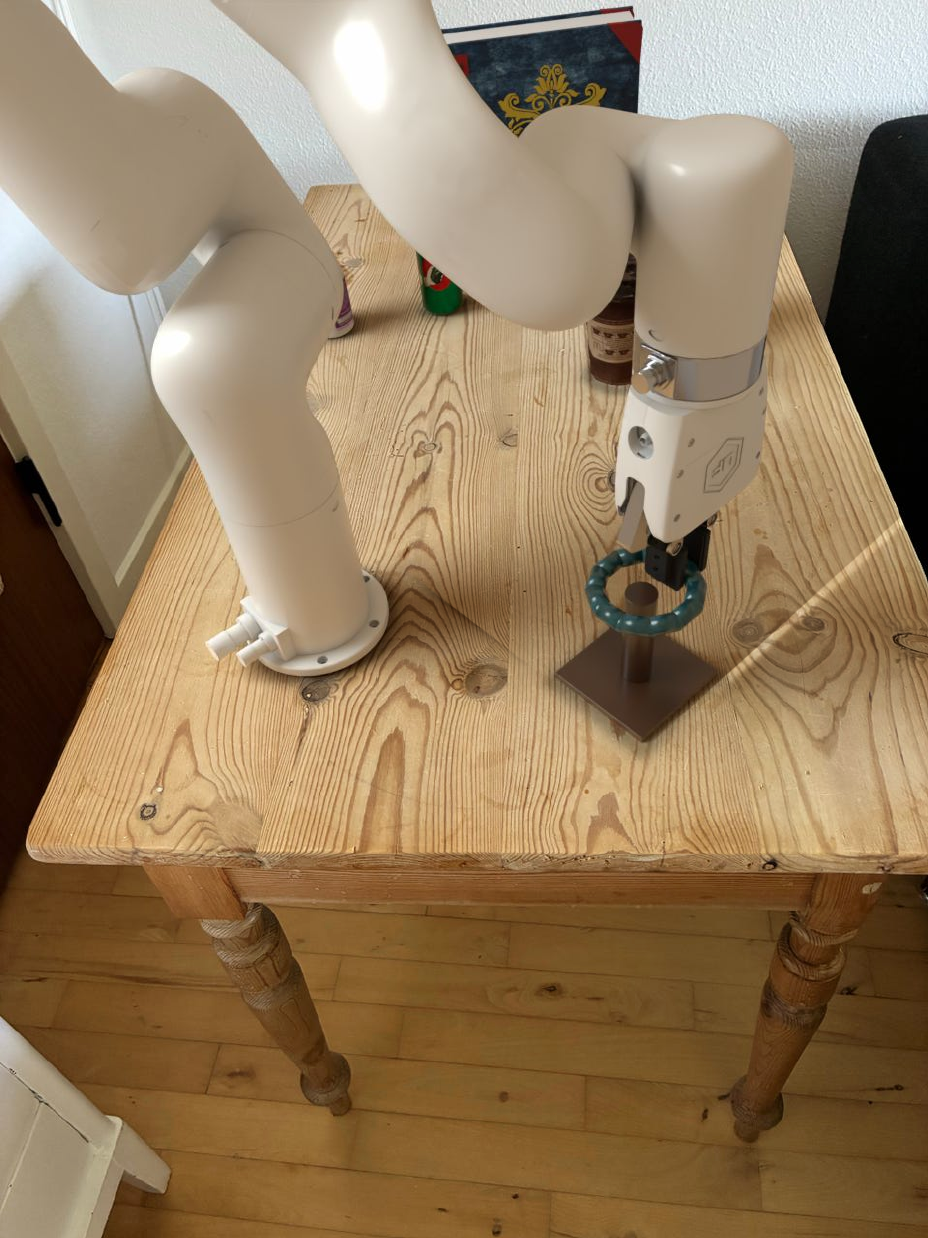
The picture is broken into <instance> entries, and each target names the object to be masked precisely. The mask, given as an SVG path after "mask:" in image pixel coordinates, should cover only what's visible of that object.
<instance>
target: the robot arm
mask: <svg viewBox="0 0 928 1238" xmlns="http://www.w3.org/2000/svg"><path fill="white" fill-rule="evenodd" d="M208 1H209V2H210V3H211V4H212V5H213V6H214V7H215V8H216V9H217V10H219V11H220V12H221V13H222V14H224V16H225V17H227V18H228V19H229V20H230V21H232V22H233V23H234V24H235V25H236V26H237V27H239V28H240V29H241V30H242V31H243V32H244V33H245V34H246V35H248V36H249V37H250V38H251V39H252V40H253V41H254V42H256V43H257V44H258V45H259V46H260V47H261V48H262V49H264V50H265V51H266V52H267V53H268V54H269V55H271V57H272V58H274V59H275V60H276V61H278V62H279V64H281V65H282V66H283V67H284V68H285V69H286V70H287V71H289V73H291V75H293V77H294V78H296V79H297V81H298V82H299V83H300V84H301V86H302V87H303V88H304V90H305V91H306V92H307V95H308V96H309V97H310V100H311V101H312V104H313V106H314V108H315V109H316V112H317V115H319V118H320V120H321V123H322V124H323V126H324V128H325V130H326V132H327V133H328V135H329V137H330V139H331V140H332V143H334V145H335V146H336V149H337V150H338V151H339V153H340V155H341V157H342V158H343V159H344V161H345V163H346V164H347V165H348V167H349V169H350V170H351V172H352V174H353V176H354V177H355V178H356V180H357V181H358V183H359V185H360V186H361V188H362V190H363V191H364V192H365V194H366V195H367V197H368V198H369V199H370V201H371V203H372V204H373V205H374V207H375V208H376V210H377V211H378V212H379V213H380V214H381V216H382V217H383V218H384V219H385V220H386V222H387V223H388V224H389V225H390V227H392V229H393V230H394V231H395V232H396V233H397V234H398V235H399V236H400V237H401V238H402V240H404V241H405V242H406V243H407V244H408V245H409V246H410V247H411V248H412V249H413V250H414V251H415V252H416V251H417V252H418V253H419V254H420V255H421V256H423V257H424V258H425V259H426V260H427V261H428V262H430V263H431V264H432V265H433V266H434V267H436V268H437V269H438V270H439V271H440V272H442V273H443V274H444V275H445V276H446V277H448V278H449V279H450V280H451V281H452V282H454V283H455V284H456V285H457V286H458V287H460V288H461V289H462V290H463V292H465V293H466V294H467V295H468V296H470V297H471V298H472V299H474V300H475V301H476V302H477V303H479V304H480V305H482V306H483V307H485V308H486V309H487V310H488V311H490V312H492V313H493V314H495V315H498V316H499V317H501V318H503V319H505V320H506V321H508V322H510V323H512V324H514V325H517V326H520V327H523V328H525V329H529V330H533V331H539V332H545V333H546V332H548V333H549V332H550V333H551V332H553V333H554V332H563V331H569V330H572V329H573V330H574V329H575V328H578V327H580V326H582V325H584V324H586V323H587V322H589V321H590V320H591V319H593V318H594V317H595V316H597V315H598V314H599V313H600V312H601V311H602V310H603V309H604V308H605V307H606V306H607V305H608V303H609V302H610V301H611V300H612V298H613V297H614V295H615V293H616V291H617V290H618V288H619V286H620V283H621V281H622V278H623V275H624V271H625V268H626V264H627V261H628V256H629V252H630V253H632V254H633V255H634V257H635V258H636V261H637V274H636V296H635V318H634V323H635V324H634V343H633V367H632V377H631V383H632V384H630V386H629V389H628V393H627V397H626V402H625V405H624V411H623V415H622V421H621V427H620V433H619V440H618V446H617V455H616V465H615V466H616V467H615V479H614V502H615V508H616V513H617V515H618V516H619V517H623V519H622V522H621V525H620V527H619V531H618V534H617V537H616V541H615V544H616V546H617V547H620V548H621V549H622V548H623V549H625V550H626V551H628V552H630V553H635V552H638V551H641V550H643V549H646V554H645V564H644V572H645V573H646V574H647V575H648V576H650V577H651V578H652V579H653V580H655V581H657V582H658V583H661V584H663V585H665V586H666V587H667V588H669V589H671V590H672V591H674V592H679V591H680V590H682V588H684V587H685V585H684V578H685V571H686V562H687V558H688V559H690V560H692V561H693V562H695V564H696V565H697V567H698V569H699V571H700V572H701V573H702V572H703V571H705V570H706V569H707V563H708V558H709V550H710V544H711V543H710V542H711V537H712V530H711V529H709V528H712V527H713V525H715V523H716V522H717V521H718V518H719V513H720V510H721V509H722V508H723V507H725V506H726V505H727V504H728V503H730V501H732V500H733V499H735V498H736V497H737V496H738V495H739V494H741V493H742V492H743V491H744V490H745V489H746V488H747V487H748V486H749V485H750V484H751V483H752V482H753V481H754V479H756V477H757V475H758V472H759V469H760V464H761V460H762V454H763V446H764V445H763V444H764V438H765V430H766V429H765V428H766V417H767V408H768V407H767V405H768V370H767V361H766V360H767V359H766V356H765V350H766V343H767V337H768V331H769V326H770V321H771V312H772V307H773V302H774V296H775V290H776V283H777V278H778V273H779V266H780V260H781V254H782V252H781V251H782V246H783V240H784V235H785V229H786V223H787V216H788V210H789V205H790V199H791V191H792V186H793V181H794V172H795V171H794V170H795V154H794V153H795V152H794V148H793V145H792V143H791V141H790V139H789V138H788V136H787V134H786V133H785V132H784V131H783V130H782V128H780V127H778V125H775V124H774V123H772V122H770V121H769V120H765V119H763V118H761V117H756V116H751V115H745V114H737V113H711V114H703V115H697V116H692V117H688V118H683V119H678V118H677V119H676V118H675V119H674V118H668V117H661V116H660V117H659V116H654V115H648V114H642V113H638V114H636V113H631V112H625V111H620V110H615V109H609V108H604V107H597V106H588V105H571V106H563V107H559V108H555V109H552V110H550V111H547V112H545V113H543V114H541V115H540V116H538V117H537V118H536V119H535V120H533V121H532V122H531V123H530V124H529V125H528V126H527V127H526V128H525V129H524V131H523V132H522V133H521V135H520V136H519V138H517V137H516V136H515V135H514V134H513V133H512V132H511V131H510V130H509V129H508V128H507V127H506V126H505V125H504V124H503V123H502V121H501V120H500V119H499V118H498V117H497V116H496V115H495V114H494V113H493V112H492V110H491V109H490V108H489V107H488V106H487V104H486V103H485V102H484V101H483V100H482V99H481V97H480V96H479V94H478V93H477V92H476V90H475V89H474V88H473V86H472V85H471V84H470V82H469V81H468V79H467V78H466V76H465V75H464V73H463V72H462V70H461V68H460V67H459V65H458V64H457V62H456V60H455V59H454V57H453V55H452V53H451V51H450V49H449V47H448V45H447V43H446V41H445V39H444V36H443V34H442V31H441V29H442V28H441V27H440V24H439V21H438V19H437V15H436V12H435V10H434V6H433V3H432V0H208ZM0 188H1V190H2V191H3V192H4V193H5V194H6V195H7V196H8V197H9V198H10V200H11V201H12V202H13V203H14V204H15V205H16V206H17V208H18V209H19V210H20V211H21V212H22V213H23V214H24V215H25V216H26V218H27V219H28V220H29V221H30V222H31V223H32V224H33V225H34V227H35V228H36V229H37V230H38V231H39V232H40V233H41V235H42V236H43V237H44V238H45V239H46V240H47V242H49V244H51V245H52V247H53V248H54V249H55V250H56V251H57V252H58V253H59V254H60V255H61V257H63V259H64V260H66V261H67V262H68V264H70V265H71V267H72V268H73V269H75V270H76V271H77V272H78V273H79V274H80V275H82V277H84V278H85V279H86V280H87V281H89V282H90V283H92V285H95V287H97V288H99V289H101V290H103V291H105V292H108V293H110V294H113V295H116V296H117V295H118V296H126V297H127V296H138V295H141V294H145V293H147V292H149V291H150V290H152V289H155V288H156V287H158V286H159V285H162V283H164V282H165V281H166V280H167V279H168V278H169V277H170V276H171V275H173V274H174V273H175V272H176V270H178V268H180V266H181V265H182V264H183V263H184V262H185V261H186V260H187V258H188V257H189V256H190V255H191V254H192V255H193V256H194V257H195V258H196V260H197V262H199V263H200V265H201V266H202V267H201V269H200V270H198V271H197V272H196V274H195V275H194V276H193V277H192V279H190V281H189V282H188V284H187V285H186V286H185V288H184V289H183V291H182V292H181V293H180V295H179V296H178V297H177V298H176V299H175V301H174V302H173V304H172V305H171V307H170V308H169V310H168V311H167V313H166V314H165V316H164V318H163V319H162V321H161V323H160V325H159V327H158V329H157V331H156V334H155V337H154V341H153V344H152V348H151V354H150V374H151V375H150V376H151V380H152V384H153V387H154V389H155V393H156V395H157V397H158V398H159V401H160V403H161V404H162V406H163V407H164V409H165V410H166V412H167V414H168V415H169V417H170V419H171V420H172V421H173V423H174V424H175V426H176V427H177V429H178V430H179V432H180V433H181V435H182V436H183V438H184V440H185V442H186V443H187V445H188V447H189V449H190V450H191V452H192V454H193V456H194V458H195V460H196V462H197V464H198V467H199V470H200V472H201V474H202V476H203V479H204V481H205V484H206V486H207V489H208V492H209V494H210V497H211V499H212V502H213V504H214V507H215V508H216V510H217V513H218V516H219V519H220V521H221V524H222V527H223V529H224V531H225V534H226V537H227V540H228V542H229V544H230V547H231V551H232V552H233V555H234V558H235V561H236V563H237V566H238V568H239V571H240V573H241V576H242V579H243V582H244V585H245V588H246V590H247V593H248V595H247V596H246V597H244V598H242V599H240V600H239V603H240V606H241V608H242V611H243V613H242V614H240V615H239V616H238V617H236V618H235V624H233V625H232V626H230V627H229V628H227V629H226V630H222V631H220V632H219V633H217V634H216V635H214V636H213V637H211V638H209V639H208V640H207V641H205V646H206V649H207V650H208V651H209V653H210V654H211V656H212V657H213V658H214V659H215V660H216V662H220V661H222V660H223V659H224V658H226V657H228V656H229V655H231V654H232V653H233V652H235V651H236V650H237V649H238V648H239V647H241V646H242V645H243V644H245V643H247V645H246V646H245V647H243V648H242V649H240V650H239V651H237V652H235V656H236V658H237V659H238V661H239V663H240V664H241V665H242V666H243V667H245V668H247V667H248V666H249V665H250V664H252V663H253V662H255V661H257V660H258V661H259V662H260V663H261V664H262V665H263V666H265V667H266V668H269V669H271V670H273V671H274V672H277V673H281V674H284V675H288V676H294V677H295V676H296V677H316V676H321V675H328V674H331V673H333V672H337V671H339V670H344V669H345V668H347V667H349V666H351V665H353V664H355V663H356V662H358V661H360V660H361V659H362V658H364V657H365V656H367V655H368V654H369V653H370V652H371V651H372V650H373V649H374V648H375V647H376V646H377V644H378V643H379V642H380V640H381V639H382V637H383V636H384V634H385V631H386V629H387V627H388V624H389V619H390V606H389V602H388V597H387V593H386V591H385V589H384V587H383V585H382V584H381V582H379V580H378V579H377V578H376V576H374V575H372V574H371V573H370V572H368V571H366V570H365V569H362V565H361V561H360V557H359V551H358V548H357V544H356V540H355V536H354V531H353V527H352V523H351V520H350V514H349V510H348V507H347V502H346V498H345V494H344V490H343V486H342V482H341V478H340V477H341V476H340V472H339V468H338V467H337V463H336V462H337V461H336V459H335V454H334V450H333V447H332V444H331V442H330V438H329V436H328V433H327V432H326V430H325V428H324V426H323V425H322V423H321V422H320V421H319V419H318V418H317V417H316V416H315V415H314V413H313V412H312V411H311V409H310V406H309V402H308V399H307V386H308V383H309V382H308V381H309V378H310V376H311V373H312V370H313V368H314V367H315V366H316V363H317V361H318V360H319V356H320V355H321V353H322V351H323V349H324V346H325V345H326V343H327V341H328V339H329V338H328V337H329V335H330V334H331V332H332V329H333V327H334V325H335V323H336V321H337V319H338V316H339V314H340V311H341V308H342V303H343V296H344V286H343V279H342V274H341V271H340V268H339V266H340V264H339V263H338V260H337V258H336V255H335V253H334V254H333V252H334V251H333V252H332V250H331V248H332V247H331V246H330V244H329V243H328V241H327V239H326V238H325V236H324V235H323V233H322V232H321V230H320V229H319V227H318V226H317V224H316V223H315V221H314V220H313V219H312V217H311V216H310V214H309V213H308V212H307V210H306V208H305V207H304V206H303V205H302V203H301V201H300V199H299V198H298V197H297V196H296V194H295V193H294V191H293V190H292V189H291V187H290V185H289V184H288V182H287V181H286V180H285V179H284V177H283V176H282V174H281V173H280V172H279V170H278V168H277V167H276V166H275V164H274V162H273V161H272V160H271V158H270V157H269V155H268V154H267V152H266V151H265V150H264V149H263V147H262V145H261V144H260V143H259V141H258V139H256V137H255V135H254V134H253V132H251V130H250V129H249V127H248V126H247V125H246V123H245V122H244V120H243V119H242V117H240V116H239V114H238V113H237V112H236V110H234V108H233V107H232V106H231V105H230V104H229V103H228V102H227V101H226V100H225V99H224V98H223V97H222V96H220V95H219V94H218V93H217V92H216V91H215V90H213V89H212V88H211V87H209V86H208V85H207V84H205V83H204V82H202V81H200V80H199V79H197V78H195V77H194V76H191V75H189V74H187V73H185V72H183V71H180V70H177V69H173V68H168V67H160V66H159V67H158V66H154V67H153V66H152V67H150V66H149V67H144V68H139V69H136V70H134V71H131V72H128V73H127V74H124V75H122V76H121V77H119V78H118V79H116V81H114V82H113V83H111V82H110V81H109V80H108V79H107V78H106V77H105V76H104V75H103V73H102V72H101V71H100V69H98V67H97V66H96V65H95V64H94V63H93V62H92V60H91V59H90V58H89V57H88V55H87V54H86V53H85V51H84V50H83V49H82V47H81V46H80V44H79V43H78V42H77V40H76V38H75V37H74V36H73V34H72V33H71V32H70V31H69V29H68V27H67V26H66V25H65V24H64V23H63V22H62V19H60V18H59V17H58V16H57V15H56V14H55V13H54V12H53V10H52V9H51V8H49V6H48V5H46V3H45V2H44V1H42V0H0ZM330 247H331V248H330Z"/></svg>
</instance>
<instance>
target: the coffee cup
mask: <svg viewBox="0 0 928 1238" xmlns="http://www.w3.org/2000/svg"><path fill="white" fill-rule="evenodd" d="M636 274H637V261H636V258H635V257H634V255H633V254H632V253H630V252H629V256H628V261H627V264H626V268H625V271H624V275H623V278H622V281H621V283H620V286H619V288H618V290H617V291H616V293H615V295H614V297H613V298H612V300H611V301H610V302H609V303H608V305H607V306H606V307H605V308H604V309H603V310H602V311H601V312H600V313H599V314H598V315H597V316H595V317H594V318H593V319H591V320H590V321H589V322H587V323H585V328H586V342H587V353H588V359H589V372H590V374H591V375H592V376H593V378H594V379H595V380H596V381H598V382H600V383H602V384H606V385H610V386H615V387H616V386H618V387H620V386H627V385H632V383H631V377H632V367H633V343H634V324H635V323H634V318H635V296H636Z"/></svg>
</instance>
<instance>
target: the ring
mask: <svg viewBox="0 0 928 1238" xmlns="http://www.w3.org/2000/svg"><path fill="white" fill-rule="evenodd" d="M645 554H646V549H643V550H641V551H638V552H635V553H630V552H628V551H626V550H625V549H623V548H622V547H621V548H618V549H613V550H612V551H610V552H609V553H608V554H607V555H606V556H604V557H603V558H602V559H600V560H599V561H598V562H596V563H595V564H594V565H592V567H591V568H590V572H589V574H588V577H587V581H586V583H585V587H584V595H585V598H586V601H587V603H588V604H589V607H590V609H591V612H592V614H593V615H594V617H595V618H596V619H598V620H599V621H601V622H602V623H604V624H605V625H607V626H608V627H610V628H613V629H614V630H616V631H617V632H619V633H624V634H630V635H636V636H642V637H648V638H651V637H656V636H660V635H668V634H672V633H677V632H680V631H682V630H684V628H686V627H687V626H688V625H689V624H690V623H692V622H693V621H694V620H695V619H696V618H697V617H699V615H701V614H702V612H703V611H704V607H705V602H706V597H707V592H708V583H707V582H706V580H705V578H704V576H703V574H702V572H700V571H699V569H698V567H697V565H696V564H695V562H693V561H692V560H690V559H688V558H687V562H686V571H685V578H684V588H685V589H686V590H685V595H684V598H683V601H682V602H681V603H679V604H678V605H677V606H676V607H675V608H673V610H671V611H669V612H666V613H661V614H657V615H656V616H652V617H645V616H639V615H633V614H627V613H625V612H624V610H622V609H620V608H619V607H617V606H616V605H615V604H613V603H611V601H610V599H609V596H608V594H607V592H606V587H607V584H608V581H609V579H610V578H611V577H612V576H613V575H615V574H616V573H617V572H619V571H620V570H621V569H623V568H628V567H632V566H637V565H640V564H644V565H645Z"/></svg>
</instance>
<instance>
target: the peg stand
mask: <svg viewBox="0 0 928 1238" xmlns="http://www.w3.org/2000/svg"><path fill="white" fill-rule="evenodd" d="M659 595H660V594H659V589H658V588H657V587H656V586H655V585H654V584H652V583H650V582H648V581H635V582H632V583H630V584H629V585H628V586H626V588H625V590H624V598H623V612H625V613H627V614H633V615H639V616H645V617H652V616H656V615H658V606H659V598H660V597H659ZM718 671H719V670H718V669H717V668H716V667H713V666H712V665H711V664H709V663H708V662H706V661H705V660H703V659H702V658H700V657H699V656H697V655H696V654H694V653H693V652H691V651H690V650H688V649H687V648H685V647H683V646H682V645H681V644H680V643H678V642H676V641H675V640H673V639H672V638H670V637H669V636H667V634H664V635H660V636H656V637H651V638H648V637H642V636H636V635H630V634H624V633H619V632H617V631H616V630H614V629H613V628H611V627H610V628H608V629H607V630H606V631H604V632H603V633H602V634H600V635H599V636H598V637H597V638H596V639H595V640H594V641H592V642H591V643H590V644H589V645H587V646H586V647H585V648H584V649H582V650H581V651H580V652H579V653H578V654H576V655H575V656H574V657H572V658H571V659H570V660H569V661H568V662H566V663H565V664H564V665H563V666H562V667H560V668H559V669H558V670H557V671H555V672H554V678H555V679H556V680H558V681H559V682H560V683H562V684H563V685H564V686H565V687H566V688H568V689H569V690H571V691H572V692H574V693H575V694H576V695H578V697H580V698H582V699H583V700H584V701H586V702H587V703H588V704H589V705H591V706H592V707H593V708H595V710H598V711H599V712H600V713H601V714H602V715H604V716H605V717H607V718H608V719H609V720H611V721H612V722H613V723H615V724H616V725H617V726H619V727H620V728H621V729H623V730H624V731H625V732H627V734H629V735H630V736H632V737H633V738H635V739H636V740H637V741H638V742H640V743H643V742H644V741H645V740H646V739H648V738H649V737H650V736H651V735H652V734H653V733H654V732H655V731H657V729H659V728H660V727H661V726H662V725H663V724H664V723H665V722H667V720H668V719H670V718H671V717H672V716H673V715H674V714H675V713H676V712H677V711H679V709H681V708H682V707H683V706H684V705H685V704H687V702H688V701H690V700H691V699H692V698H693V697H694V696H696V694H697V693H699V692H700V691H701V690H702V689H703V688H705V686H706V685H707V684H709V682H711V681H712V680H713V679H714V678H715V677H716V676H718Z"/></svg>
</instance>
